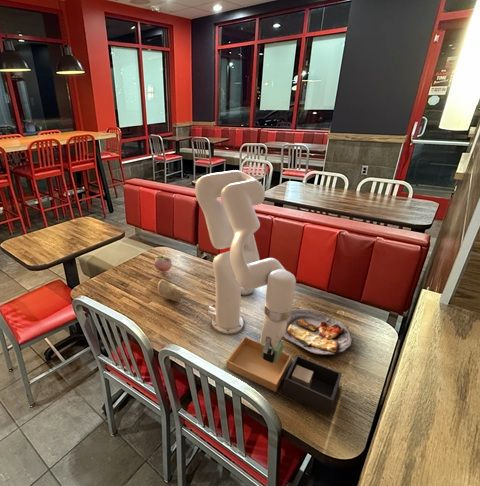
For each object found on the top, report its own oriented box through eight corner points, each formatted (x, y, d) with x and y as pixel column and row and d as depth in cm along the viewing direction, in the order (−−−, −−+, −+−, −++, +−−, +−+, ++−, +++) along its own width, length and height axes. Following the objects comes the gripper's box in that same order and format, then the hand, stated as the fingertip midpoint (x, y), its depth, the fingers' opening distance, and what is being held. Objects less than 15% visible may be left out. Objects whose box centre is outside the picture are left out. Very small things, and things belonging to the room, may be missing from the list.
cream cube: (289, 387, 96) (291, 375, 94) (295, 376, 99) (296, 364, 97) (306, 394, 93) (308, 383, 91) (311, 383, 97) (313, 371, 94)
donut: (232, 295, 142) (254, 296, 140) (232, 289, 140) (254, 290, 138) (233, 283, 151) (254, 284, 149) (233, 277, 149) (254, 278, 147)
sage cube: (261, 356, 99) (262, 345, 97) (267, 346, 103) (268, 335, 100) (276, 363, 97) (278, 351, 94) (281, 353, 100) (283, 341, 98)
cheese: (157, 293, 149) (149, 290, 135) (164, 279, 150) (157, 275, 136) (185, 308, 145) (179, 307, 131) (192, 294, 146) (187, 291, 132)
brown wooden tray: (226, 368, 104) (226, 361, 102) (244, 343, 114) (244, 336, 112) (275, 392, 95) (276, 385, 93) (290, 363, 105) (291, 355, 103)
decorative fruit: (174, 268, 166) (173, 252, 162) (169, 276, 159) (168, 259, 155) (158, 266, 169) (157, 250, 165) (152, 274, 162) (151, 257, 158)
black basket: (282, 393, 94) (284, 378, 91) (294, 369, 102) (296, 354, 100) (329, 416, 87) (333, 400, 84) (338, 388, 95) (341, 373, 92)
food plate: (360, 333, 116) (362, 326, 114) (335, 370, 101) (337, 362, 100) (297, 306, 132) (297, 299, 131) (267, 334, 118) (268, 327, 116)
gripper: (275, 291, 99) (270, 334, 108) (253, 321, 87) (249, 367, 96) (299, 299, 95) (291, 343, 104) (279, 332, 83) (272, 378, 92)
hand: (271, 354), depth 100 cm, fingers closed on sage cube, 5 cm apart
